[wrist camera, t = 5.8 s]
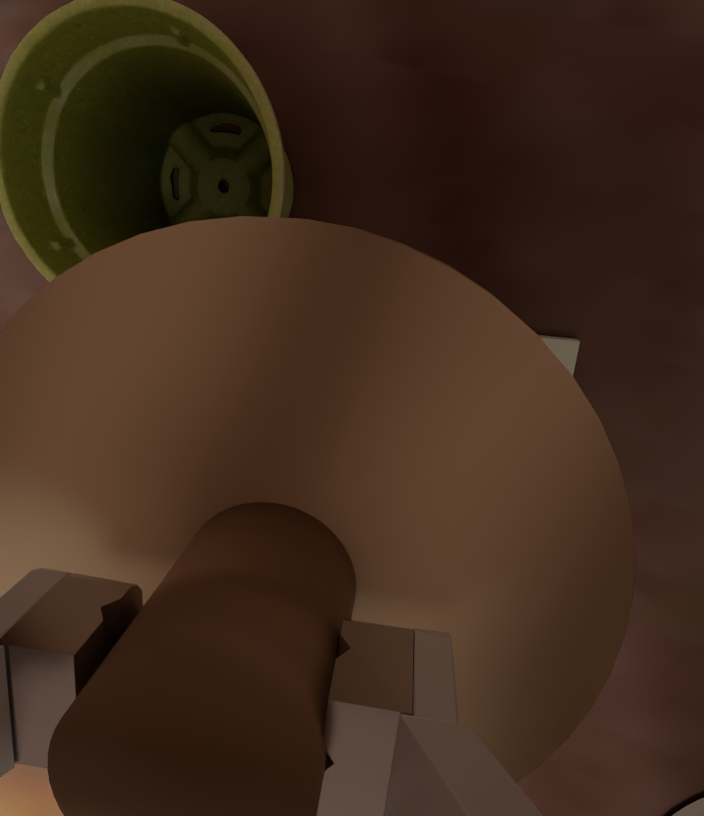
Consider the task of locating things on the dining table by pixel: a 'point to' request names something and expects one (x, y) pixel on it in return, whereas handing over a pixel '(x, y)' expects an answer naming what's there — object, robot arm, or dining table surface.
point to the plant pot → (131, 130)
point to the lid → (301, 504)
